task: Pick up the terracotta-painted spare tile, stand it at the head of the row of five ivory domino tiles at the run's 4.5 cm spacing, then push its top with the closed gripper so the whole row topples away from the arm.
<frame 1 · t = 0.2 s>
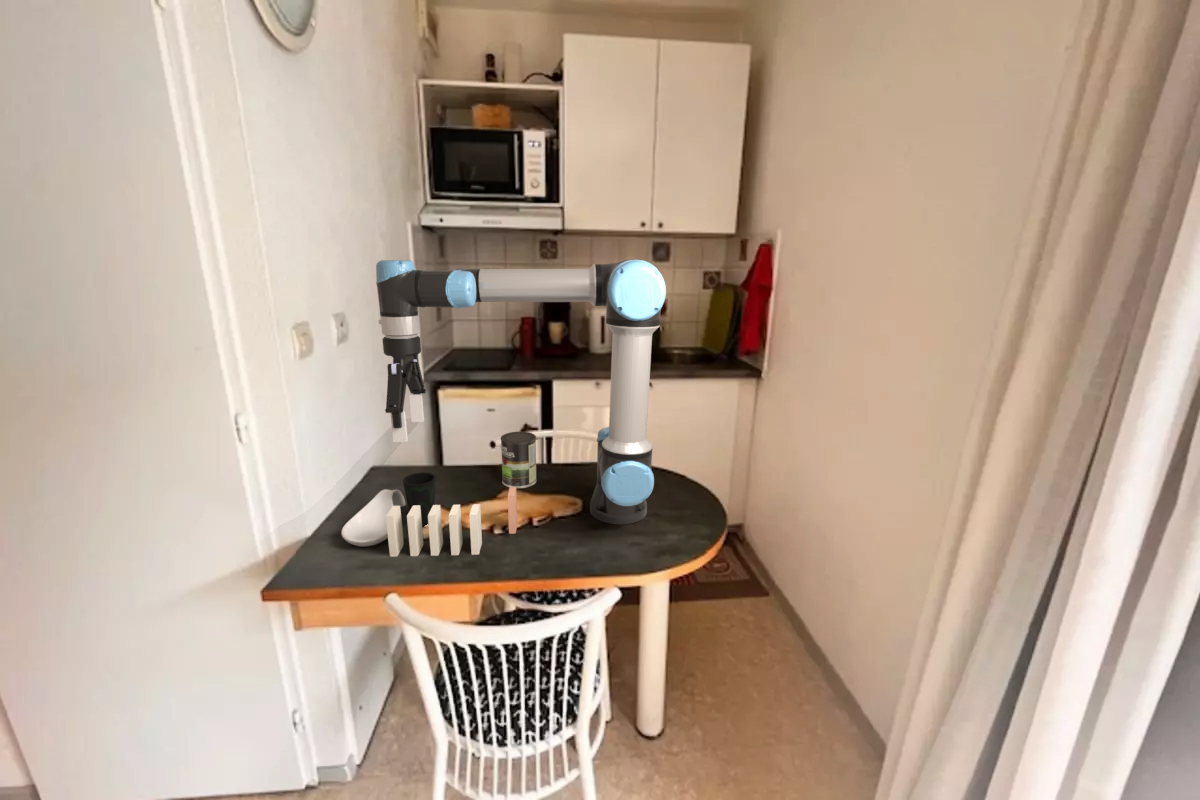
hand: (409, 431, 116), 27 cm above the table, fingers open, 13 cm apart
tile 3: (437, 549, 120), on the table
cup: (423, 523, 132), on the table
tile 5: (397, 550, 119), on the table
coffee can: (519, 482, 157), on the table
tile 1: (476, 548, 120), on the table
tile 2: (457, 549, 120), on the table
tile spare: (513, 528, 130), on the table
tile 4: (417, 550, 120), on the table
spoon rest: (380, 528, 130), on the table
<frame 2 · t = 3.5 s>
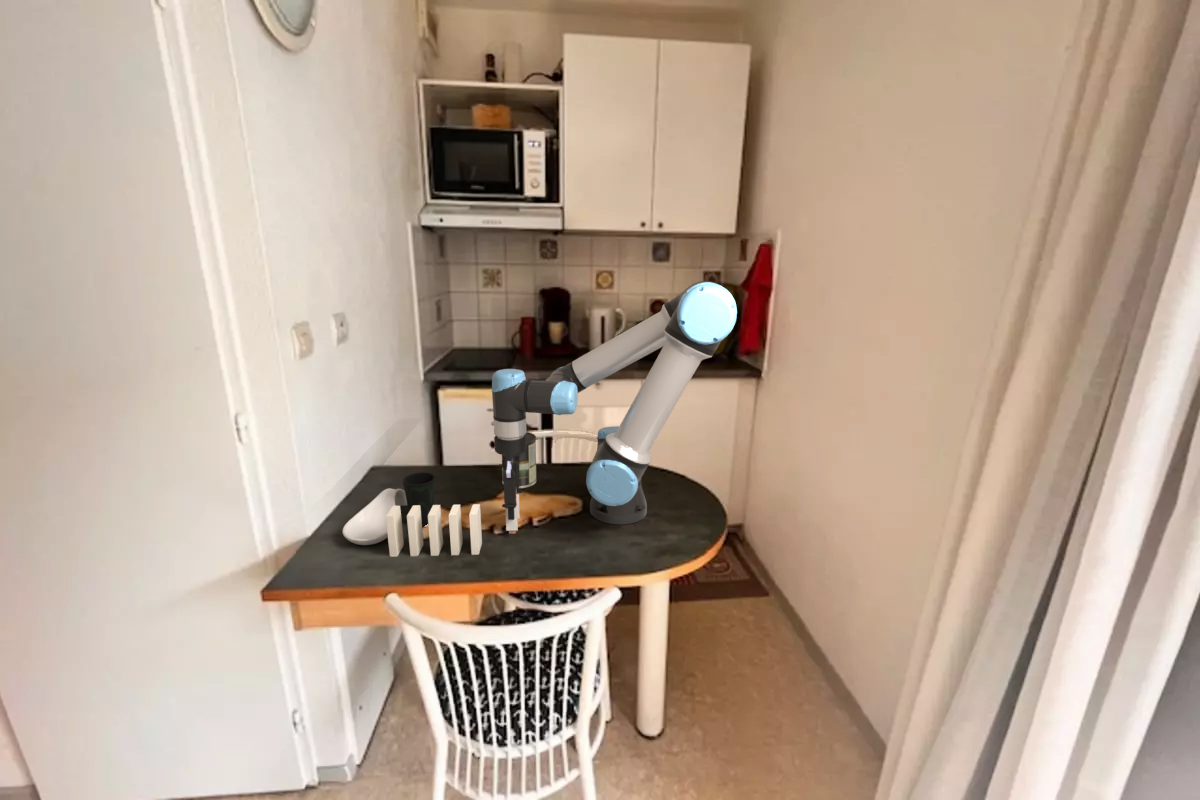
hand: (513, 523, 129), 1 cm above the table, fingers closed on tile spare, 5 cm apart
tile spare: (513, 528, 130), on the table, touching gripper
when the fingers open (2 cm above the table, at t = 7.8 s): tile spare stays where it is, on the table.
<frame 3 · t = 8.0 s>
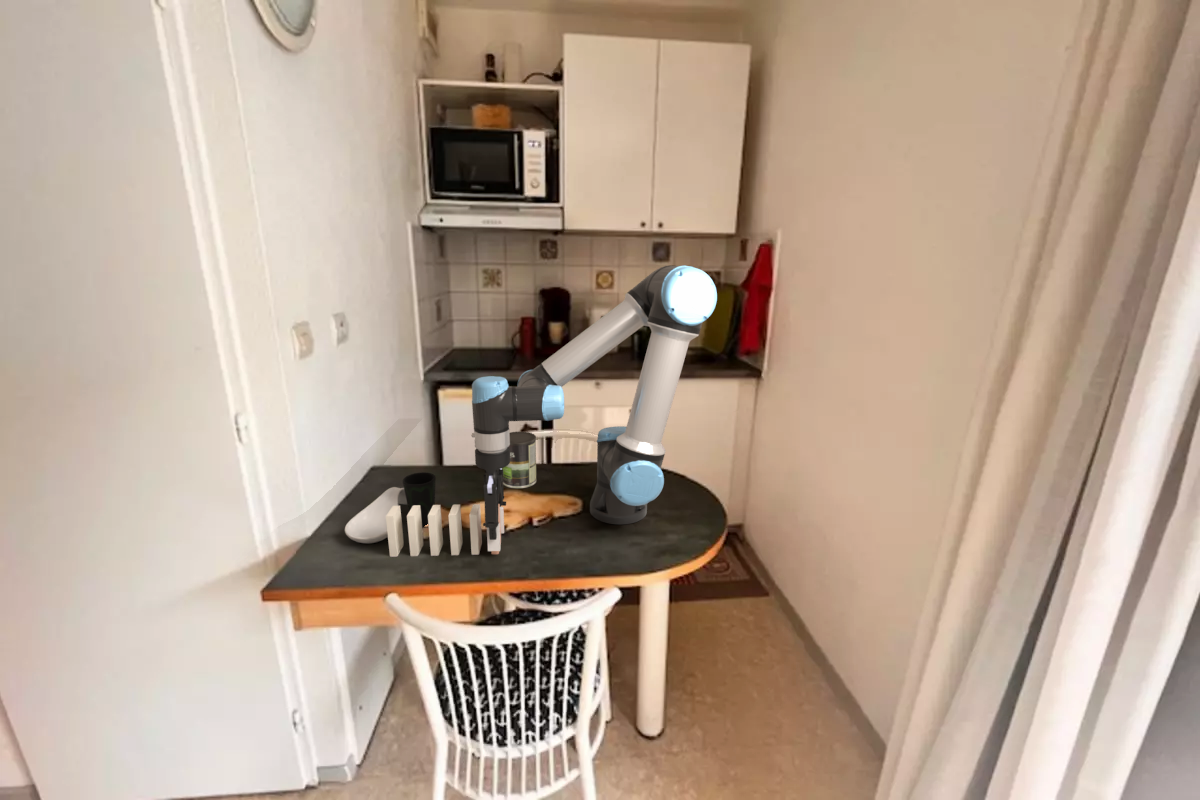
hand: (496, 540, 120), 2 cm above the table, fingers open, 7 cm apart
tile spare: (496, 548, 121), on the table
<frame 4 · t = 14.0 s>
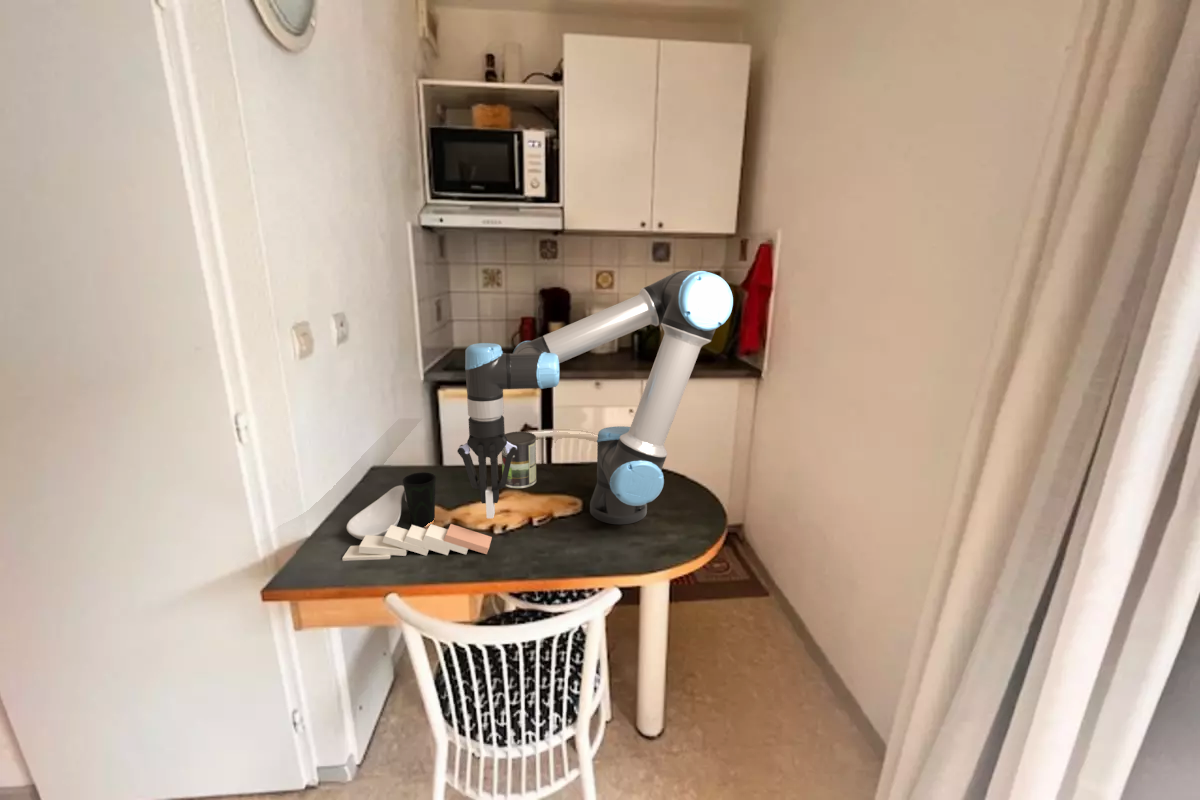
hand: (490, 515, 118), 8 cm above the table, fingers closed
tile 3: (430, 546, 120), point 1 cm above the table, tilted 67°, touching tile 2
tile 5: (392, 553, 118), on the table, tilted 90°, touching tile 4
tile 1: (469, 545, 120), point 1 cm above the table, tilted 68°, touching tile 2
tile 2: (450, 546, 120), point 1 cm above the table, tilted 68°, touching tile 1, tile 3
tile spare: (489, 545, 120), point 1 cm above the table, tilted 69°
tile 4: (408, 546, 119), point 1 cm above the table, tilted 82°, touching tile 5
spoon rest: (389, 523, 132), on the table
everything else where it was.
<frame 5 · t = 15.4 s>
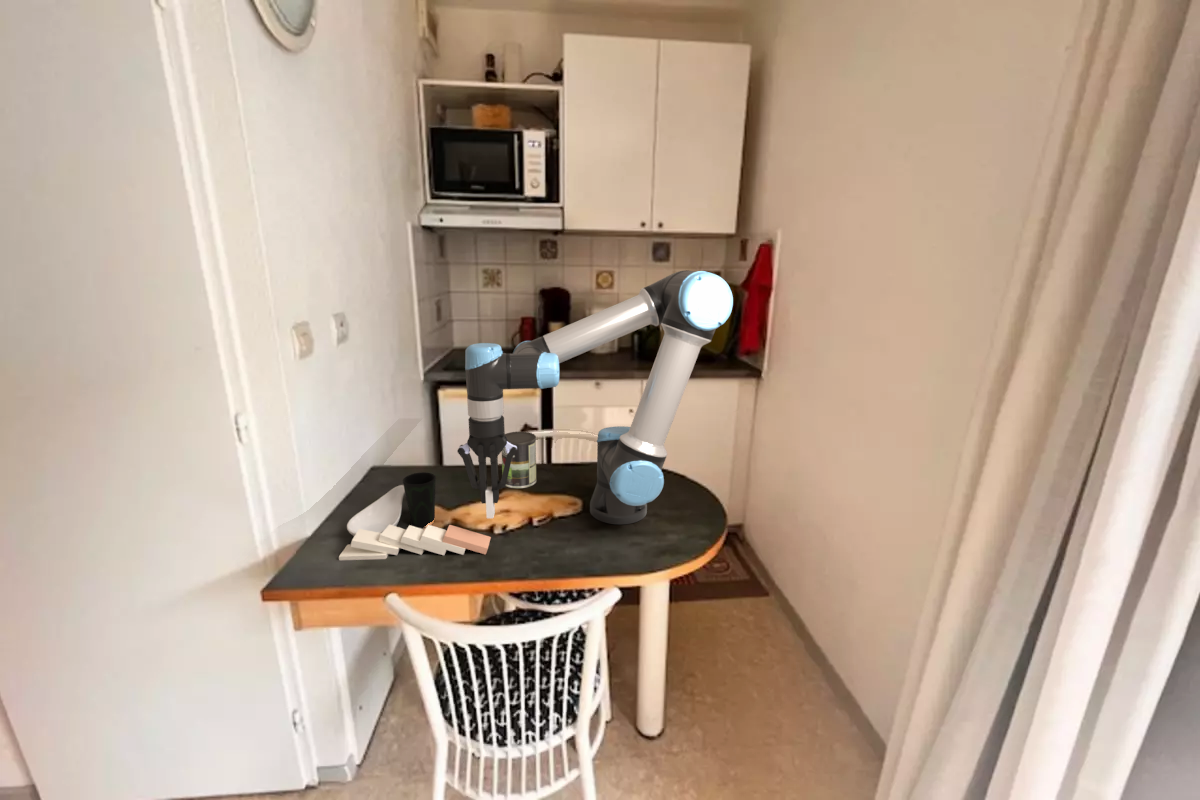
hand: (490, 515, 118), 8 cm above the table, fingers closed
tile 4: (400, 546, 119), point 1 cm above the table, tilted 74°, touching tile 5
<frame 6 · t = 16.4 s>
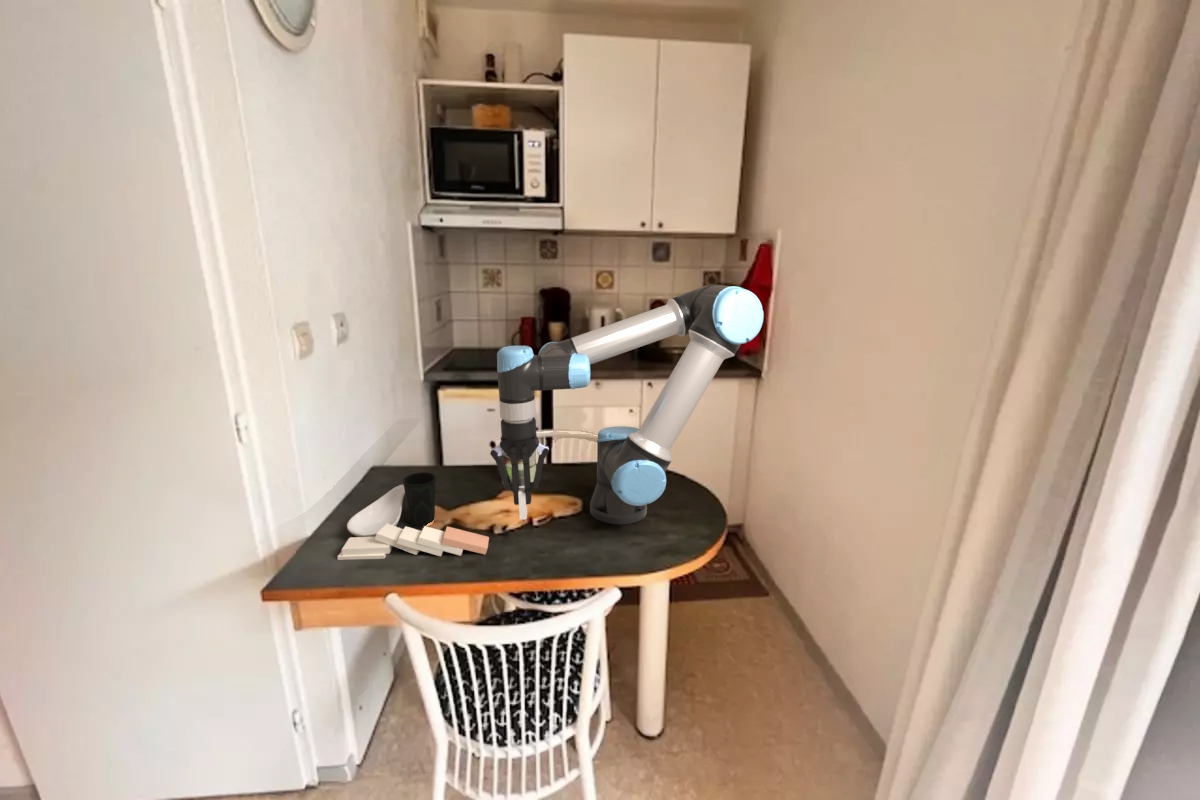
hand: (523, 516, 119), 8 cm above the table, fingers closed
tile 3: (421, 546, 119), point 1 cm above the table, tilted 71°, touching tile 2
tile 5: (387, 552, 118), on the table, tilted 90°
tile 1: (464, 546, 120), point 1 cm above the table, tilted 70°, touching tile 2, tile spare
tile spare: (487, 545, 120), point 1 cm above the table, tilted 71°, touching tile 1
tile 4: (392, 544, 119), point 2 cm above the table, tilted 90°
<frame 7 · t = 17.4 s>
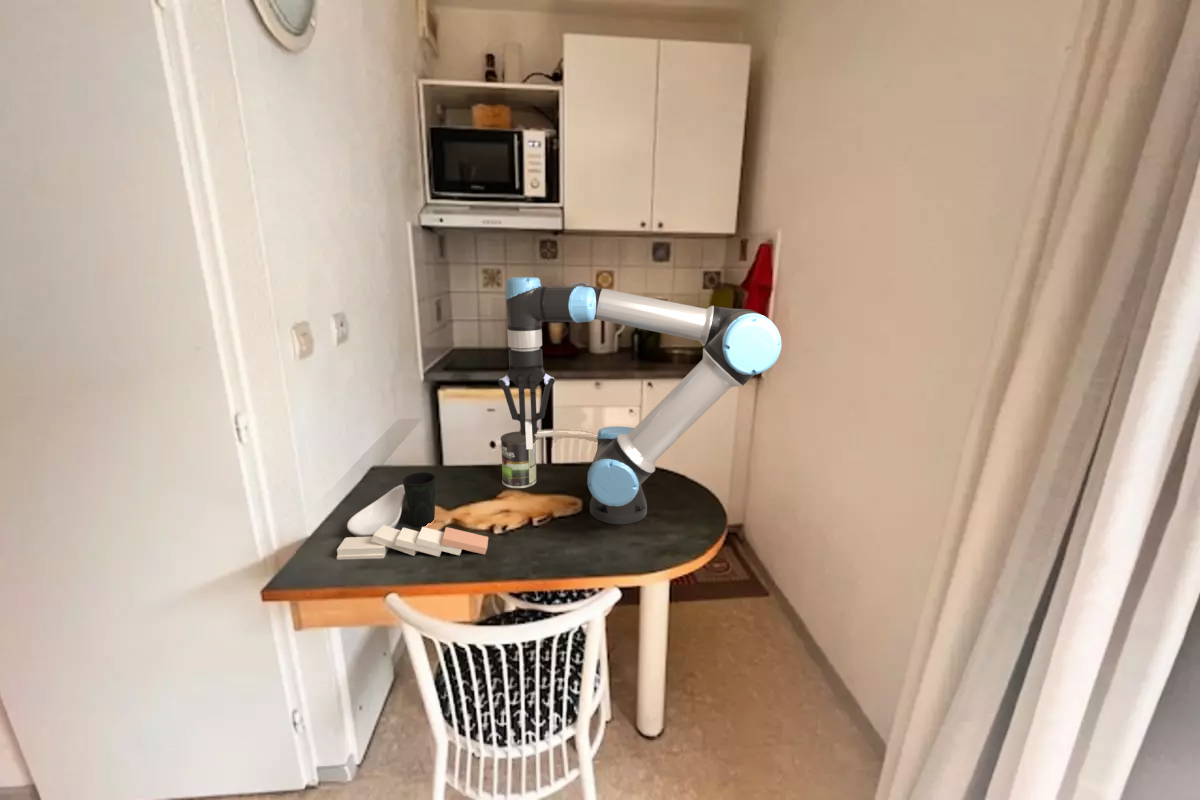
hand: (529, 447, 123), 22 cm above the table, fingers closed
tile 3: (419, 547, 119), point 1 cm above the table, tilted 72°, touching tile 2, tile 4
tile 5: (387, 551, 119), on the table, tilted 90°, touching tile 4
tile 4: (387, 544, 118), point 2 cm above the table, tilted 90°, touching tile 3, tile 5
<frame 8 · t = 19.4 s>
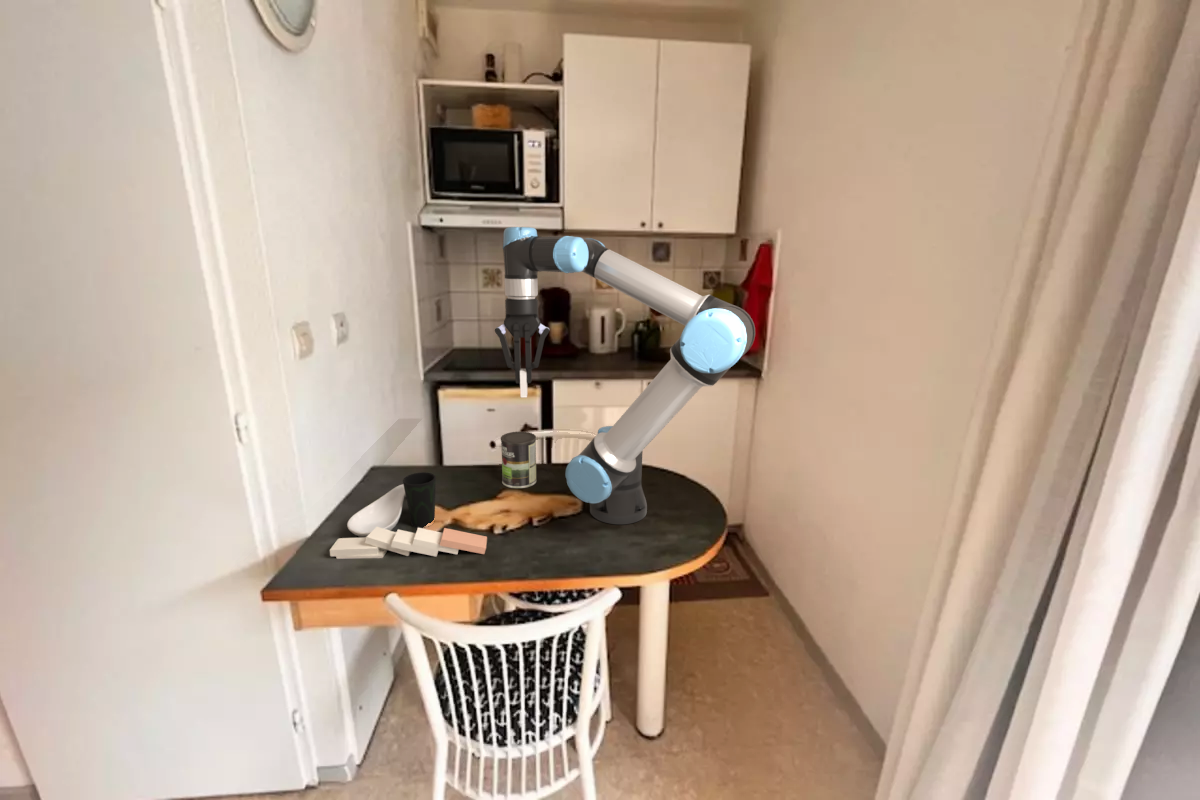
hand: (524, 395, 127), 32 cm above the table, fingers closed
tile 3: (413, 547, 119), point 1 cm above the table, tilted 74°, touching tile 2, tile 4
tile 4: (380, 545, 119), point 1 cm above the table, tilted 90°, touching tile 3, tile 5
at the end: tile 5 tilted 90°; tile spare tilted 72°; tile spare inside the target area (1.5 cm from its centre), point 0.7 cm above the table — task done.
